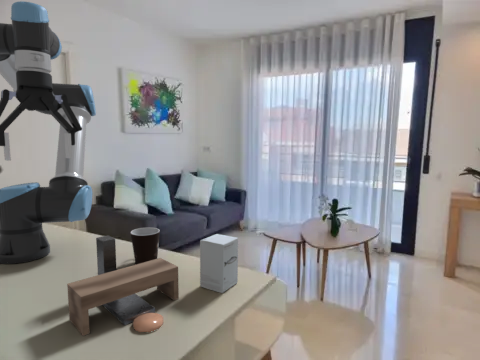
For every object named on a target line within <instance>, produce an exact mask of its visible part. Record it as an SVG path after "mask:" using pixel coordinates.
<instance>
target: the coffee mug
mask: <svg viewBox="0 0 480 360" xmlns="http://www.w3.org/2000/svg"><path fill="white" fill-rule="evenodd" d="M160 230H161V229H159V228H157V227H139V228H135V229H132V230H131V231H130V238H131V243H132V251H133V256H134V265H137V264H140V263H144V262H147V261H151V260H154V259H158V255H159V254H158V253H159V243H160V233H161V231H160Z"/></svg>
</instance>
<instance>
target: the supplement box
mask: <svg viewBox="0 0 480 360" xmlns="http://www.w3.org/2000/svg"><path fill="white" fill-rule="evenodd" d="M199 245H200V246H199V249H200V250H199V257H200V258H199V260H200V261H199V266H200V267H199V270H200V271H199V277H200V278H199V280H200V281H199V286H200V287H201V288H205V289H207V290H211V291H213V292H217V293H220V294H224V293H225V292H226V291H227V290H228V289H229V290H230V288H232V287H233V286H234V285H236V284H238V281H239V280H238V277H239V276H238V275H239V274H238V271H239V265H238V263H239V237H235V236H231V235H224V234H221V233H216V234H212V235H211V236H208V237H206V238H203V239H200V241H199Z"/></svg>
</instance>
